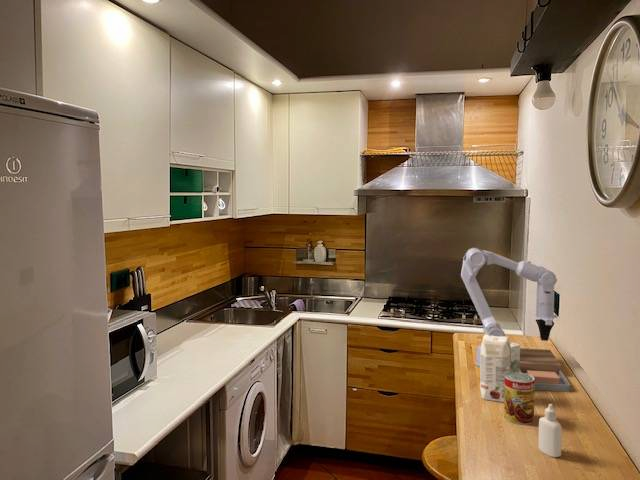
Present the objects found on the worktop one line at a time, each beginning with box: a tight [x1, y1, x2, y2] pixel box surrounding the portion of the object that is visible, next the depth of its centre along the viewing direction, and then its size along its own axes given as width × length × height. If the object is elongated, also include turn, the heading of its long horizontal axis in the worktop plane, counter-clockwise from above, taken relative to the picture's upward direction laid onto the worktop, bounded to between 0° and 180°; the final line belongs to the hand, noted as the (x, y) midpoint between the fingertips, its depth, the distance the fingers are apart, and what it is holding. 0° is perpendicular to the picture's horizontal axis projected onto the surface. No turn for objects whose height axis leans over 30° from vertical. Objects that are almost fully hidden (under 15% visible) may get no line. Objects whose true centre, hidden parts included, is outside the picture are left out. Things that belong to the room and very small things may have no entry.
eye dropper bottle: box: [537, 403, 563, 458], centre depth 121 cm, size 4×6×12 cm
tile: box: [527, 370, 559, 384], centre depth 168 cm, size 6×9×2 cm, turn 77°
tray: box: [519, 368, 572, 393], centre depth 167 cm, size 14×14×2 cm
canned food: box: [503, 372, 536, 426], centre depth 140 cm, size 8×8×12 cm
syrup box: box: [510, 341, 521, 372], centre depth 163 cm, size 6×6×14 cm
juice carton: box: [479, 334, 511, 403], centre depth 154 cm, size 8×9×19 cm
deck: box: [519, 347, 562, 375], centre depth 182 cm, size 18×14×4 cm
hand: (544, 340), depth 180 cm, fingers closed
